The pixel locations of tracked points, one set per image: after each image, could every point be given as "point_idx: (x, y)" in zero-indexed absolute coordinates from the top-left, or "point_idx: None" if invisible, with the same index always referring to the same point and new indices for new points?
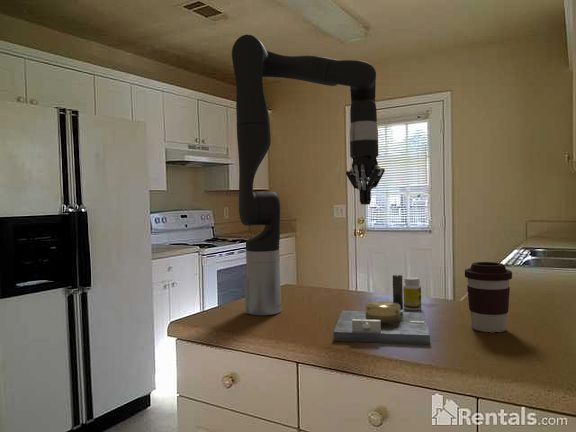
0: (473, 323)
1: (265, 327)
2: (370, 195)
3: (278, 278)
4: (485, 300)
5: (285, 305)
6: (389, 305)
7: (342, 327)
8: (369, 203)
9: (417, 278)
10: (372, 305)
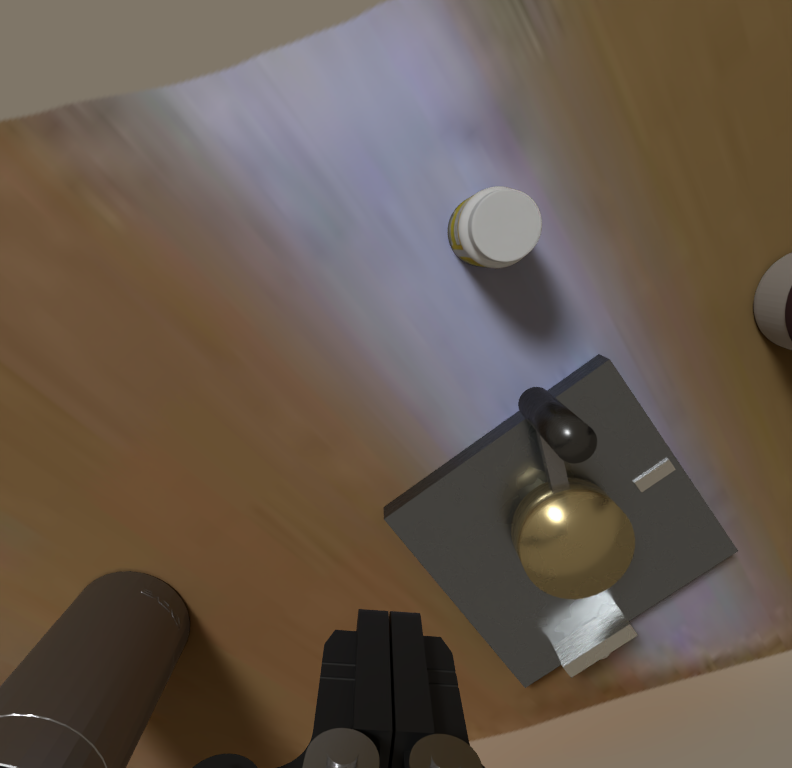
0: (779, 344)
1: (292, 712)
2: (459, 703)
3: (133, 687)
4: None
5: (98, 518)
6: (597, 536)
7: (516, 647)
8: (418, 621)
9: (532, 216)
10: (553, 570)
